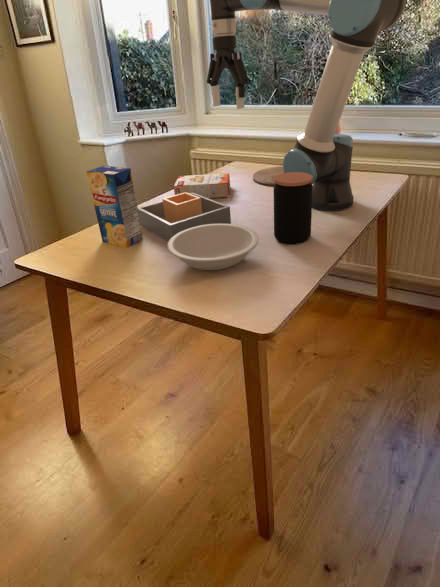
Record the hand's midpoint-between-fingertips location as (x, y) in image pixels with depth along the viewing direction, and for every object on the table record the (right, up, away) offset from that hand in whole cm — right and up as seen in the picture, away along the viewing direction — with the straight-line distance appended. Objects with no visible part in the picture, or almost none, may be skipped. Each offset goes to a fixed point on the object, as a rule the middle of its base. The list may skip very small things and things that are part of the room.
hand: (228, 107), depth 148 cm
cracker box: (+1, -22, +20) cm, 29 cm away
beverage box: (-33, -48, -13) cm, 60 cm away
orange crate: (-15, -41, -6) cm, 44 cm away
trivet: (+24, -16, +34) cm, 44 cm away
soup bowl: (-4, -56, -31) cm, 64 cm away
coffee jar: (+18, -48, -21) cm, 56 cm away
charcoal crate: (-15, -41, -6) cm, 44 cm away
